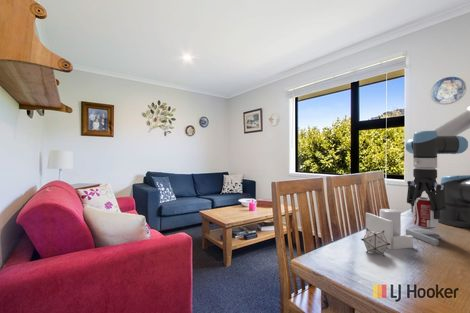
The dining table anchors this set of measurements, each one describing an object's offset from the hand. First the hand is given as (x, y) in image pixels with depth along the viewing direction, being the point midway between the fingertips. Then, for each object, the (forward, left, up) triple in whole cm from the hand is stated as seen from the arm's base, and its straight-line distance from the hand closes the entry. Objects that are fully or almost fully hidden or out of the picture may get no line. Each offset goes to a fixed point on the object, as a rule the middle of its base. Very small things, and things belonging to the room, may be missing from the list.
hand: (424, 223), depth 91 cm
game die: (+33, +11, -5) cm, 35 cm away
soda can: (0, 0, -2) cm, 2 cm away
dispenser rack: (+15, +4, -5) cm, 16 cm away
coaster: (0, 0, -5) cm, 5 cm away
